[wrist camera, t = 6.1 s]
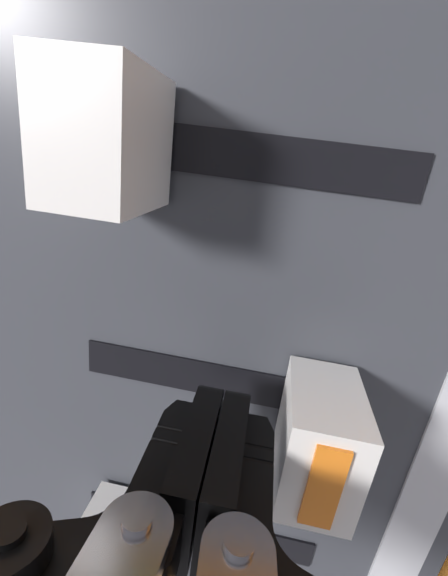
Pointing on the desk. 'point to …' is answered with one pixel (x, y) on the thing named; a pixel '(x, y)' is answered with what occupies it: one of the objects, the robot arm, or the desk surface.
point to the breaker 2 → (103, 498)
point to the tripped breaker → (323, 448)
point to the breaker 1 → (93, 129)
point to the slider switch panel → (243, 255)
